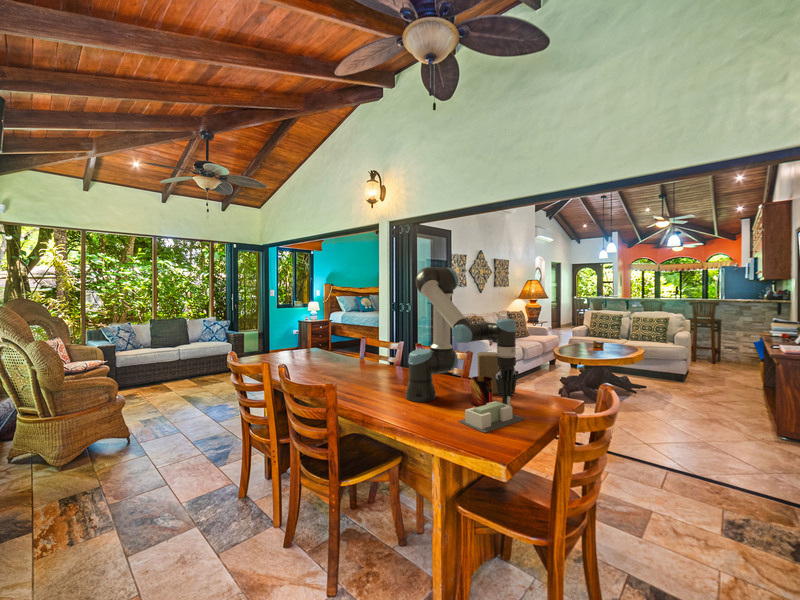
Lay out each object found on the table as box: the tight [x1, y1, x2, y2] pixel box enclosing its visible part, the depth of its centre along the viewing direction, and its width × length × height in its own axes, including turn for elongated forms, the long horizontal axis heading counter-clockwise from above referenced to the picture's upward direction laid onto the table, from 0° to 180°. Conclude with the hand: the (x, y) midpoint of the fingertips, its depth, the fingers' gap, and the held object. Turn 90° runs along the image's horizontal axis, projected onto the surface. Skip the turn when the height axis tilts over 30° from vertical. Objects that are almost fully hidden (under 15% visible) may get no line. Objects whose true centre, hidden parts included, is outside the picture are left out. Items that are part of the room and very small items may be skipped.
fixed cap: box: [464, 406, 491, 429], centre depth 140 cm, size 9×5×5 cm, turn 34°
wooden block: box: [477, 351, 499, 395], centre depth 185 cm, size 10×10×20 cm
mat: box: [457, 413, 526, 434], centre depth 145 cm, size 14×24×1 cm, turn 124°
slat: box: [473, 401, 505, 422], centre depth 144 cm, size 4×14×6 cm, turn 124°
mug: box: [470, 375, 493, 408], centre depth 164 cm, size 10×14×12 cm
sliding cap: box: [486, 400, 513, 422], centre depth 147 cm, size 9×6×5 cm
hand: (506, 411), depth 150 cm, fingers closed
